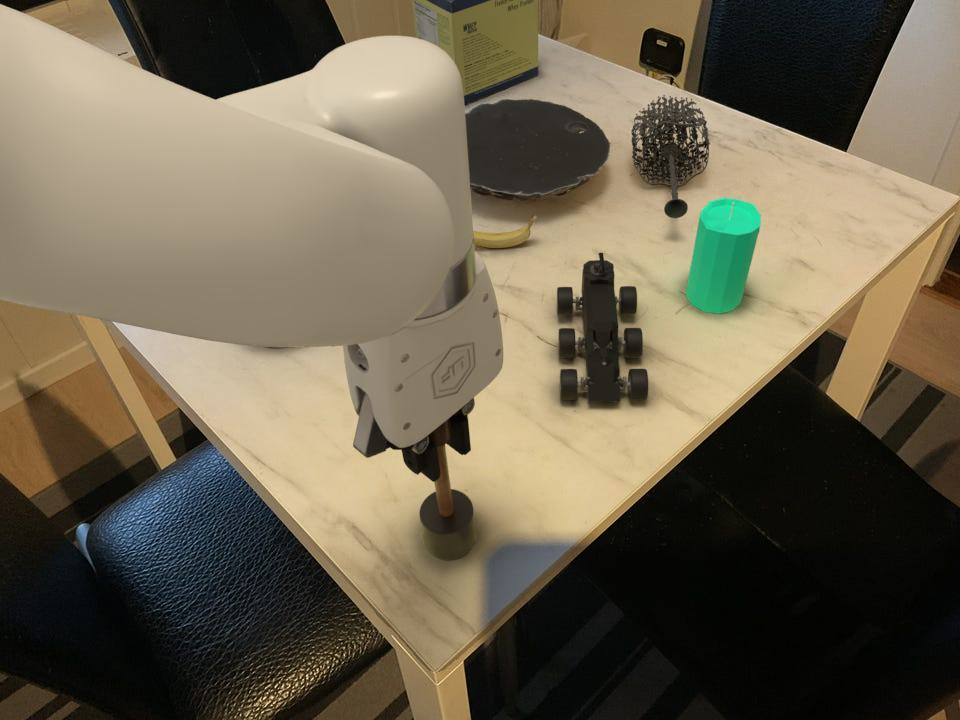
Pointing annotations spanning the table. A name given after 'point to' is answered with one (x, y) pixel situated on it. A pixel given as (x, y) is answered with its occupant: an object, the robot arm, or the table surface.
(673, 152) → the massage brush
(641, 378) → the toy vehicle
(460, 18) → the protein box
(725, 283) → the candle
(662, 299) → the table surface
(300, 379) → the table surface
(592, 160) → the board
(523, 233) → the banana
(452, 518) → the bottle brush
